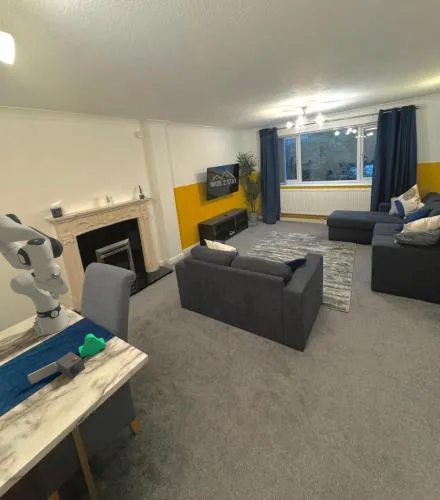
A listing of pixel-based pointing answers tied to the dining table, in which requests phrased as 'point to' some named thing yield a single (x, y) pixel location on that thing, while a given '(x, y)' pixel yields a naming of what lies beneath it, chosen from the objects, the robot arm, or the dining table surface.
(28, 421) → the dining table surface
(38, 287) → the robot arm
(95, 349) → the camera mount
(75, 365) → the camera housing
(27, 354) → the dining table surface
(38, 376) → the side door
